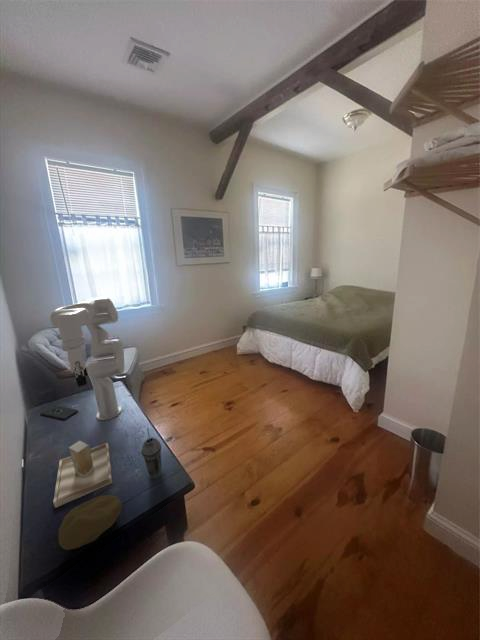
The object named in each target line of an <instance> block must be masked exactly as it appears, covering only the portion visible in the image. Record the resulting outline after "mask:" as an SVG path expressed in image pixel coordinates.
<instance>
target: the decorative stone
mask: <svg viewBox="0 0 480 640" xmlns="http://www.w3.org/2000/svg"><path fill="white" fill-rule="evenodd" d="M122 508H123V503H122V501H121V500H120V499H119V498H118V497H117V496H116V495H111V494H109V495H107V494H106V495H100V496H96V497H94V498H92V499H90V500H88V501H85V502H83V503H81V504H79V505H76V506H75V507H73V508H72V509H70V510H69V511H68V512H67V514H65V515H64V517H63V520H62V523H61V525H60V526H59V529H58V544H59V546H60V547H61V549H63V550H65V551H70V550H74V549H78V548H80V547H83V546H85V545H88V544H91V543H93V542H94V541H96V540H97V539H98V538H99V537H100V536H101V535H102V534H103V533H104V532H105V531H107V530H108V529H109V528H112V526H113V525H114V523H116V521H117V520H118V518H119V516H120V514H121V512H122Z"/></svg>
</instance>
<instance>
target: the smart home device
mask: <svg viewBox="0 0 480 640" xmlns="http://www.w3.org/2000/svg"><path fill="white" fill-rule="evenodd" d="M77 413H79V411H78V409H74V408H70V407H65V406H60V405H55V404H54V405H51V406H49V407H48V408H46V409H44V410H42V411H40V415H41V416H45V417H48V418H53V419H57V420H61V421H66V420H68V419H70V418H71V417H73V416H74V415H76V414H77Z"/></svg>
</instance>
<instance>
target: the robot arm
mask: <svg viewBox="0 0 480 640" xmlns="http://www.w3.org/2000/svg"><path fill="white" fill-rule="evenodd" d="M118 320H119V313H118V310H117V309H116V307H115V305H114V303H113V301H112V300H111V299H110V298H109V297H106V296H105V297H103V296H101V297H92V298H91V297H90V298H85V299H84V300H82V301H80V302H77V303H74V304H70V305H65V306H61V307H58V308H57V309H56V308H55V310H53V311H52V312H51V313H50V317H49V321H50V323H51V325H52V326H53V327H54V328H57V329H58V331H59V335H60V338H61V343H62V346H63V349H64V350H66V352H67V359H68V363H69V367H70V372H71V373H75V381H76V385H77V387H83V386H87V385H88V381H87V377H86V376H89V380H90V381H91V384H92V388H93V393H94V397H95V402H96V407H97V411H98V412H97V413H95V414H96V419H97V420H98V421H107V420H111V419H113V418H116V417H117V416H119V415H120V414H121V412H122V410H123V409H122V406H121V405H118V400H117V396H116V390H115V385H114V382H113V380H112V379H111V378H110V377H115V376H120V375H122V374H123V373H124V372H125V352H124V351H125V348H124V344H123V342H122V340H120V339H118V338H115V339H109V332H108V331H107V330H106V329H105V328H103V327H102V325H111V324H116V323H117V322H118ZM83 326H86V328H87V330H88V331H89V333H90V334H89V335H90V353H91V357H92V358H93V359H94V360H93V361H91V362H89V363H88V365H87V366H86V357H85V356H86V355H85V352H84V347H83V346H85V345H86V341H85V337H84V333H83V328H82V327H83Z"/></svg>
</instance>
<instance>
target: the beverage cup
mask: <svg viewBox="0 0 480 640" xmlns="http://www.w3.org/2000/svg"><path fill="white" fill-rule="evenodd" d="M146 431H147V432H146V433H147V438H146V439H145V441H143V443H142V445H141V452H140V453H141V456H143V457H142V458H143V459H144V462H145V466H146V469H147V473H148V475H149V478H150V479H157V478H159V477H160V476H161V475H162V473H163V472H162V469H163V468H162V456H161V455H162V444H161V442H160V440H159V439H158V438H156V437H151V435H150V430H149V427H146Z"/></svg>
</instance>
